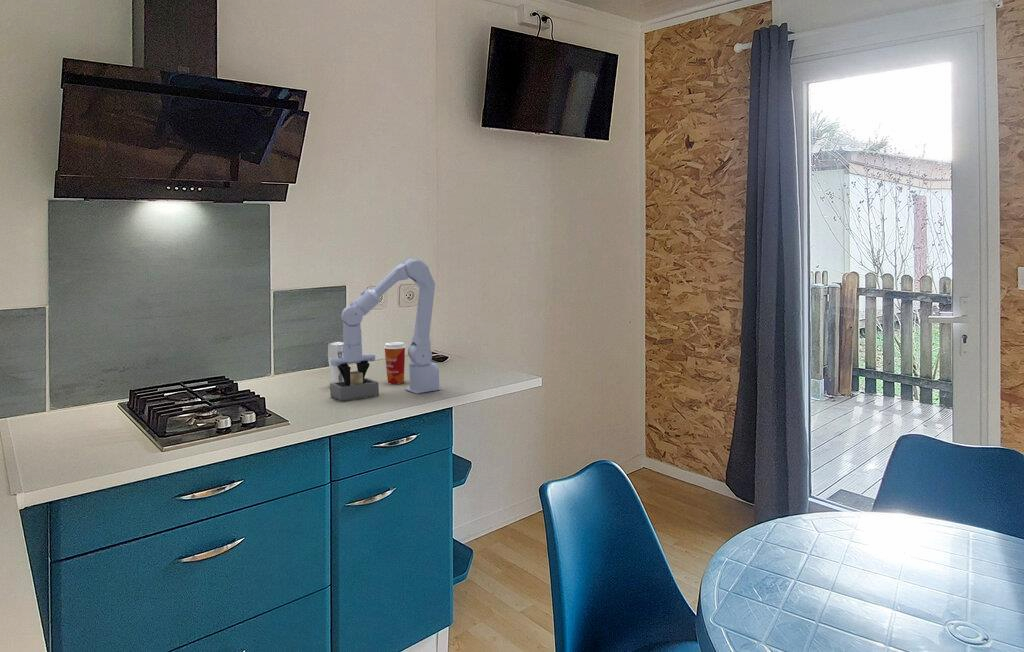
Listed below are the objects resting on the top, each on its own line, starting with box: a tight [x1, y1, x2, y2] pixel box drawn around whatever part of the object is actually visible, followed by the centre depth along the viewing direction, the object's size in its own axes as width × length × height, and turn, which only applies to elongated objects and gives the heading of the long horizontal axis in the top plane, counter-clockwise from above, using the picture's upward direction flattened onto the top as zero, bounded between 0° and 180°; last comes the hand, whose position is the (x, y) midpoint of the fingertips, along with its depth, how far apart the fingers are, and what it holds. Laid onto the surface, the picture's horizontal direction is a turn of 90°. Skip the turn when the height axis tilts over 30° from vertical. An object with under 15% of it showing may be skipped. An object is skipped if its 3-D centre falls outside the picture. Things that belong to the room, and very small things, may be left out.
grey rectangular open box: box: [329, 377, 380, 403], centre depth 222 cm, size 13×8×4 cm, turn 126°
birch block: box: [350, 370, 363, 386], centre depth 222 cm, size 4×4×6 cm
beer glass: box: [327, 341, 346, 383], centre depth 236 cm, size 7×7×15 cm
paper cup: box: [383, 341, 406, 385], centre depth 241 cm, size 8×8×14 cm
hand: (354, 385), depth 222 cm, fingers closed on birch block, 4 cm apart
